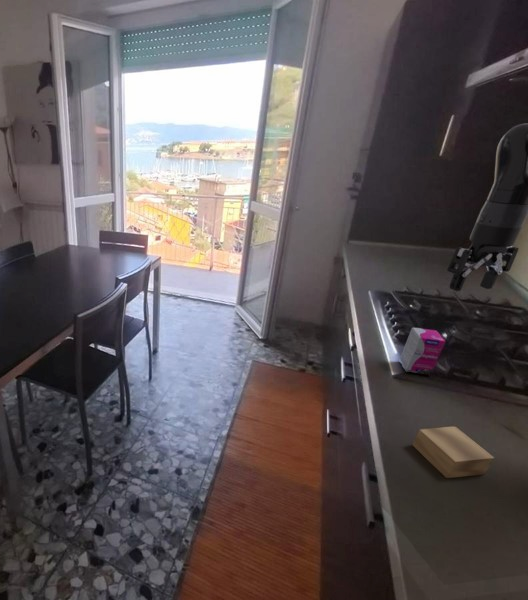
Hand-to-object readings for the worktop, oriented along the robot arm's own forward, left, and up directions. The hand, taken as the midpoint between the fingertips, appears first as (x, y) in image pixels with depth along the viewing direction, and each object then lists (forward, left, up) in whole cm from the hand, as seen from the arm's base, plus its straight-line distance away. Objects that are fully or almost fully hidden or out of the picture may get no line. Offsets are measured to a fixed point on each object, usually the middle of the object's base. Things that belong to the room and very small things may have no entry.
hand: (470, 288), depth 86 cm
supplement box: (+5, -1, -25) cm, 26 cm away
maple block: (+15, +31, -25) cm, 42 cm away
